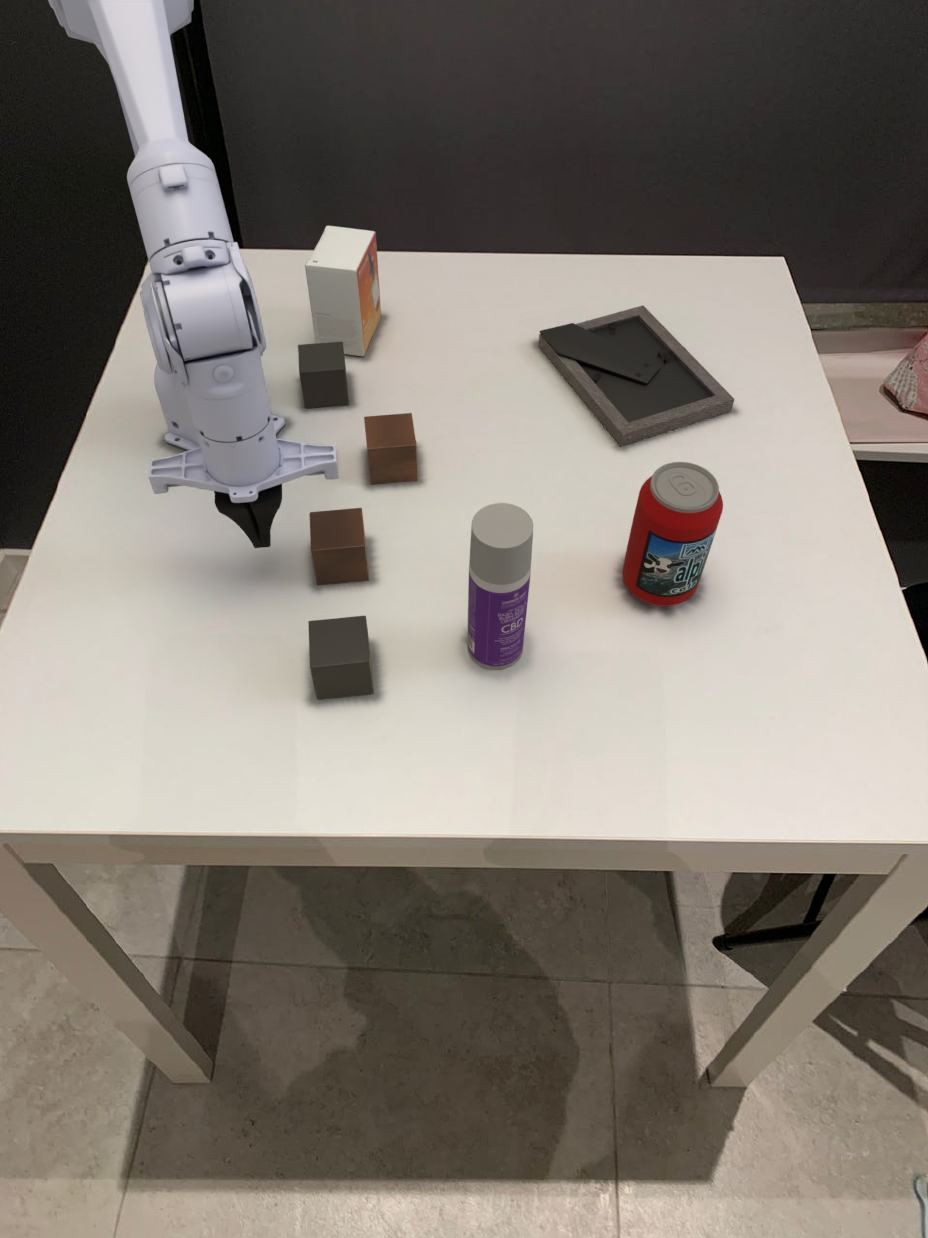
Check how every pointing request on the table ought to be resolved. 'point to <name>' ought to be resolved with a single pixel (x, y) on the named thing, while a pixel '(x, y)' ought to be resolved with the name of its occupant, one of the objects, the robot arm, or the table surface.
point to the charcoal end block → (323, 374)
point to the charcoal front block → (340, 657)
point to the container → (498, 584)
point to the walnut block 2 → (391, 448)
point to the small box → (344, 288)
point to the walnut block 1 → (338, 546)
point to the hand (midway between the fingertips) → (262, 539)
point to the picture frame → (634, 374)
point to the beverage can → (672, 533)
